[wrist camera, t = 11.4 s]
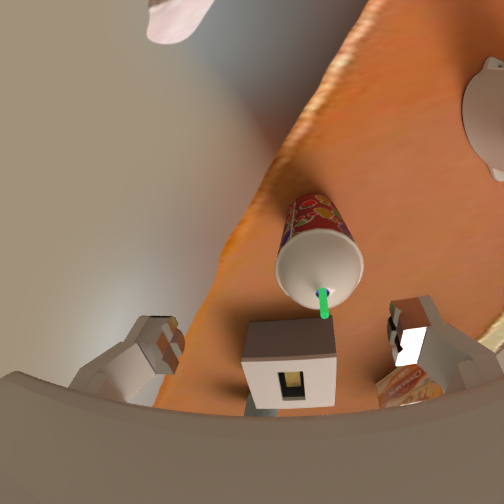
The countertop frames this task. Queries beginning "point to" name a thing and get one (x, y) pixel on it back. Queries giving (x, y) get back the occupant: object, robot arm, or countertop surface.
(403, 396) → the coffeecake box
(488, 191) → the countertop surface
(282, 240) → the smoothie
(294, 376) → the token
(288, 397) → the coin box
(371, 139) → the countertop surface
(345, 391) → the countertop surface
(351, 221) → the countertop surface
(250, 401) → the bottle
